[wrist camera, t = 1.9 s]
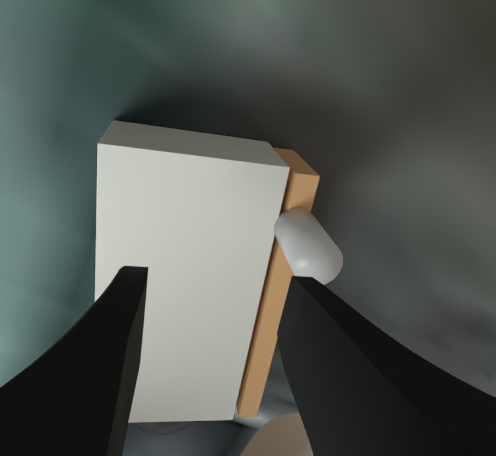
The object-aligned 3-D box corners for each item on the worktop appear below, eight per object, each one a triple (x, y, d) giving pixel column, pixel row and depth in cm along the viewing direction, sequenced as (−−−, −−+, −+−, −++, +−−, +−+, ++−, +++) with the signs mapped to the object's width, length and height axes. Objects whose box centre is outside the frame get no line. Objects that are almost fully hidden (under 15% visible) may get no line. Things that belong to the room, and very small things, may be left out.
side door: (251, 362, 25) (276, 471, 19) (222, 362, 24) (239, 473, 18) (301, 151, 19) (361, 207, 13) (265, 146, 19) (309, 201, 13)
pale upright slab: (221, 375, 25) (229, 432, 21) (104, 375, 23) (92, 437, 20) (267, 141, 19) (289, 167, 15) (113, 120, 17) (97, 143, 14)
